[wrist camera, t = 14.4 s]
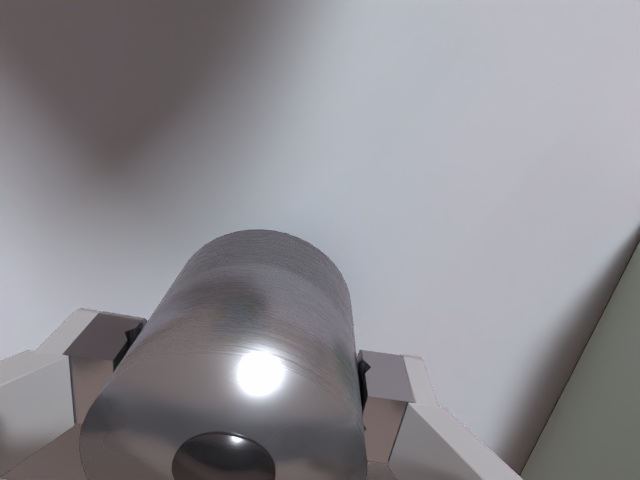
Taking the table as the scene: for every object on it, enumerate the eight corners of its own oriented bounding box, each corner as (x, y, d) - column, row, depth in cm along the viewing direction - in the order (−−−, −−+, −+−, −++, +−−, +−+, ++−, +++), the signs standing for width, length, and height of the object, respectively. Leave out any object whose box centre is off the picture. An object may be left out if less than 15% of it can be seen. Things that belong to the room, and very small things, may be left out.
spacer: (368, 245, 11) (398, 382, 6) (334, 389, 13) (338, 573, 8) (177, 215, 11) (66, 335, 6) (172, 367, 13) (85, 544, 8)
